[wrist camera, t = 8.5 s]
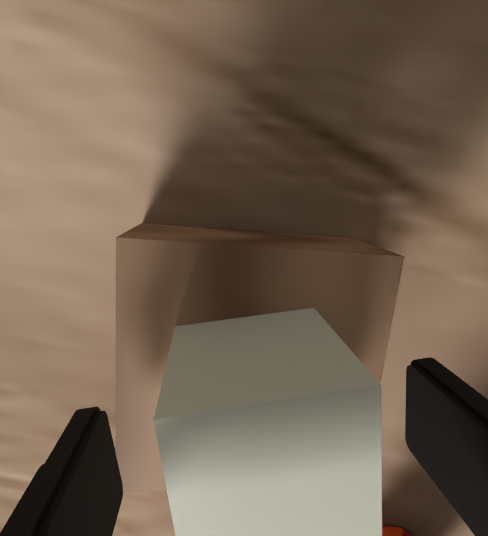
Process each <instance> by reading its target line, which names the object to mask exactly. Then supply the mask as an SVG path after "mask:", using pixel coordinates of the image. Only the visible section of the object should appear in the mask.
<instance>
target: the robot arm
mask: <svg viewBox="0 0 488 536" xmlns="http://www.w3.org/2000/svg"><path fill="white" fill-rule="evenodd" d="M405 437H406V443H407V446H408V448H409V450H410V451H411V452H412V454H413V455H414V456H415V458H416V459H417V460H418V462H419V463H420V464H421V465H422V467H423V468H424V469H425V471H426V472H427V473H428V475H429V476H430V477H431V479H432V480H433V481H434V482H435V484H436V485H437V486H438V488H439V489H440V490H441V492H442V493H443V494H444V496H445V497H446V498H447V500H448V501H449V502H450V503H451V505H452V506H453V507H454V509H455V510H456V511H457V513H458V514H459V515H460V517H461V518H462V519H463V520H464V522H465V523H466V524H467V526H468V527H469V528H470V530H471V531H472V532H473V534H474V535H475V536H488V399H486V398H485V397H484V396H482V395H481V394H480V393H478V392H477V391H476V390H474V389H473V388H472V387H471V386H469V385H468V384H467V383H465V382H464V381H463V380H461V379H460V378H459V377H457V376H456V375H455V374H453V373H452V372H451V371H450V370H448V369H447V368H446V367H444V366H443V365H442V364H440V363H439V362H438V361H436V360H435V359H434V358H423V359H417V360H413V361H412V362H411V365H409V366H408V367H407V371H406V432H405ZM122 496H123V484H122V479H121V475H120V470H119V466H118V462H117V457H116V453H115V448H114V444H113V439H112V435H111V431H110V426H109V422H108V417H107V414H106V412H105V411H100V409H99V407H91V408H85V409H78V410H76V412H75V413H74V415H73V416H72V418H71V420H70V422H69V423H68V425H67V427H66V428H65V430H64V432H63V433H62V435H61V437H60V439H59V440H58V442H57V444H56V445H55V447H54V449H53V451H52V452H51V454H50V456H49V457H48V459H47V461H46V462H45V464H43V465H41V467H40V468H39V469H38V471H37V472H36V474H35V476H34V477H33V479H32V481H31V482H30V484H29V486H28V488H27V489H26V491H25V493H24V494H23V496H22V498H21V499H20V501H19V503H18V504H17V506H16V508H15V509H14V511H13V513H12V514H11V516H10V518H9V519H8V521H7V523H6V524H5V526H4V528H3V529H2V531H1V533H0V536H112V534H113V530H114V526H115V523H116V519H117V516H118V512H119V508H120V505H121V501H122Z"/></svg>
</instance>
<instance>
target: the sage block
mask: <svg viewBox="0 0 488 536" xmlns="http://www.w3.org/2000/svg"><path fill="white" fill-rule="evenodd" d="M153 421H154V426H155V431H156V436H157V442H158V447H159V452H160V457H161V462H162V468H163V473H164V478H165V483H166V488H167V494H168V499H169V504H170V509H171V514H172V520H173V525H174V530H175V535H176V536H382V449H381V384H380V383H379V382H378V381H377V380H376V378H375V377H374V376H373V375H372V374H371V373H370V372H369V370H368V369H367V368H366V367H365V366H364V365H363V364H362V362H361V361H360V360H359V359H358V358H357V357H356V355H355V354H354V353H353V352H352V351H351V350H350V349H349V347H348V346H347V345H346V344H345V343H344V342H343V341H342V339H341V338H340V337H339V336H338V335H337V334H336V333H335V331H334V330H333V329H332V328H331V327H330V326H329V324H328V323H327V322H326V321H325V320H324V319H323V318H322V316H321V315H320V314H319V313H318V312H317V311H316V310H315V308H308V309H300V310H293V311H285V312H278V313H271V314H263V315H256V316H248V317H241V318H234V319H226V320H219V321H211V322H204V323H197V324H189V325H182V326H175V329H174V333H173V337H172V342H171V346H170V350H169V355H168V359H167V363H166V368H165V372H164V376H163V381H162V385H161V389H160V394H159V398H158V402H157V407H156V411H155V415H154V419H153Z"/></svg>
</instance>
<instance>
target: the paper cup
mask: <svg viewBox="0 0 488 536" xmlns="http://www.w3.org/2000/svg"><path fill="white" fill-rule="evenodd" d="M382 536H413V535H412V534H411V533H410V532H408V531H407V530H405V529H403V528H401V527H397V526H392V525H382Z"/></svg>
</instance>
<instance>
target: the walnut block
mask: <svg viewBox="0 0 488 536" xmlns="http://www.w3.org/2000/svg"><path fill="white" fill-rule="evenodd" d="M403 259H404V256H401V255H398V254H396V253H393V252H390V251H387V250H384V249H382V248H379V247H376V246H373V245H370V244H367V243H365V242H362V241H359V240H356V239H353V238H347V237H333V236H319V235H305V234H291V233H276V232H262V231H248V230H234V229H220V228H206V227H192V226H178V225H164V224H150V223H141V224H139V225H138V226H136V227H134V228H132V229H130V230H129V231H127V232H125V233H123V234H122V235H120V236H118V237H116V457H117V462H118V466H119V470H120V475H121V479H122V484H123V492H156V491H167V488H166V483H165V478H164V473H163V468H162V462H161V457H160V452H159V447H158V442H157V436H156V431H155V426H154V421H153V419H154V415H155V411H156V407H157V402H158V398H159V394H160V389H161V385H162V381H163V376H164V372H165V368H166V363H167V359H168V355H169V350H170V346H171V342H172V337H173V333H174V329H175V326H182V325H189V324H197V323H204V322H211V321H219V320H226V319H234V318H241V317H248V316H256V315H263V314H271V313H278V312H285V311H293V310H300V309H308V308H315V310H316V311H317V312H318V313H319V314H320V315H321V316H322V318H323V319H324V320H325V321H326V322H327V323H328V324H329V326H330V327H331V328H332V329H333V330H334V331H335V333H336V334H337V335H338V336H339V337H340V338H341V339H342V341H343V342H344V343H345V344H346V345H347V346H348V347H349V349H350V350H351V351H352V352H353V353H354V354H355V355H356V357H357V358H358V359H359V360H360V361H361V362H362V364H363V365H364V366H365V367H366V368H367V369H368V370H369V372H370V373H371V374H372V375H373V376H374V377H375V378H376V380H377V381H378V382H379V383H380V381H381V375H382V370H383V365H384V359H385V354H386V349H387V344H388V338H389V333H390V328H391V322H392V317H393V312H394V307H395V301H396V296H397V291H398V285H399V280H400V275H401V270H402V264H403Z"/></svg>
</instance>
